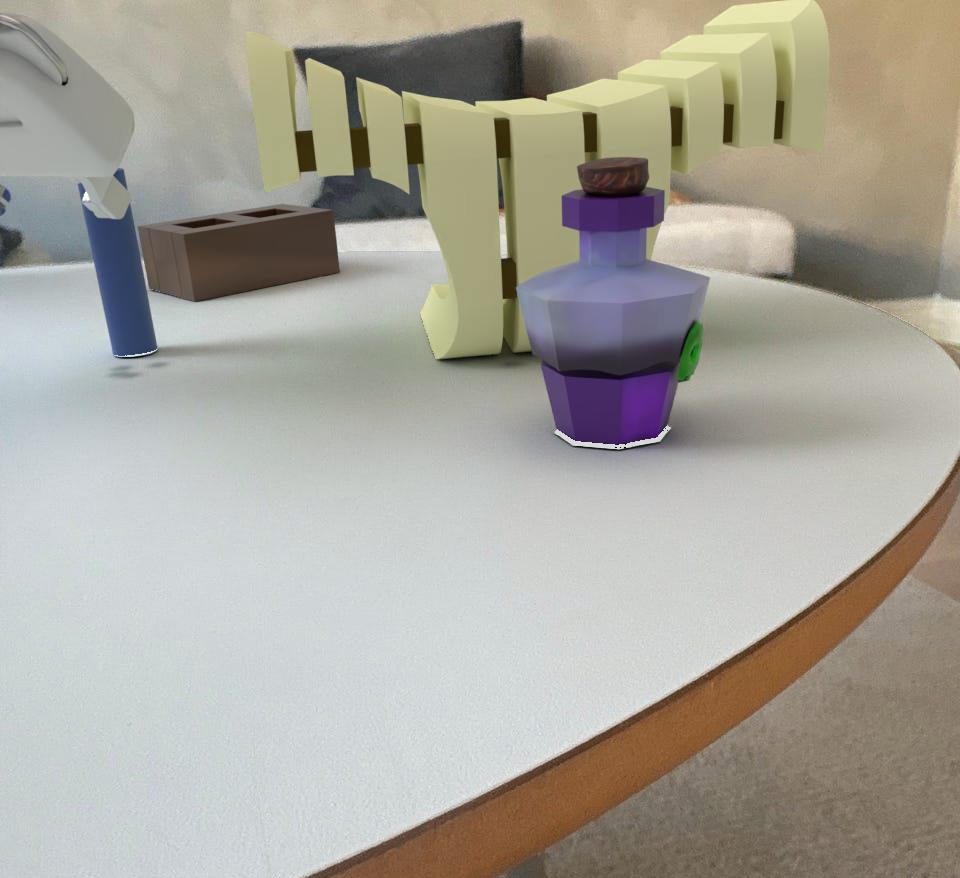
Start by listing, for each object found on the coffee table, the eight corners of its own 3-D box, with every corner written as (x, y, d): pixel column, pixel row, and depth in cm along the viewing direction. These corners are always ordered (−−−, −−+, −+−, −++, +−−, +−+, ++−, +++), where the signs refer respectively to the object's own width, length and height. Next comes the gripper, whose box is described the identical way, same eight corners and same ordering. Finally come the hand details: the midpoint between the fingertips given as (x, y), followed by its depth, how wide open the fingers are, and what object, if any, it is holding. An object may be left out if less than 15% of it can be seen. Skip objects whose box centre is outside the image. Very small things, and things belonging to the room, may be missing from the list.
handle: (106, 353, 70) (67, 172, 65) (146, 344, 72) (111, 167, 67) (124, 360, 68) (86, 174, 63) (165, 351, 70) (131, 169, 65)
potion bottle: (720, 457, 47) (735, 163, 42) (523, 466, 48) (512, 175, 42) (689, 399, 55) (698, 144, 50) (519, 406, 55) (510, 154, 50)
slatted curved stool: (290, 387, 61) (242, 29, 53) (297, 323, 75) (260, 33, 67) (806, 342, 64) (836, -5, 55) (719, 288, 78) (732, 5, 70)
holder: (149, 289, 89) (136, 226, 87) (290, 262, 97) (282, 203, 94) (194, 301, 83) (183, 234, 81) (340, 272, 91) (333, 209, 89)
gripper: (33, -56, 47) (216, 161, 59) (-252, -20, 56) (-42, 163, 68) (-24, 64, 45) (176, 261, 58) (-307, 82, 54) (-82, 249, 66)
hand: (56, 208), depth 63 cm, fingers open, 8 cm apart
